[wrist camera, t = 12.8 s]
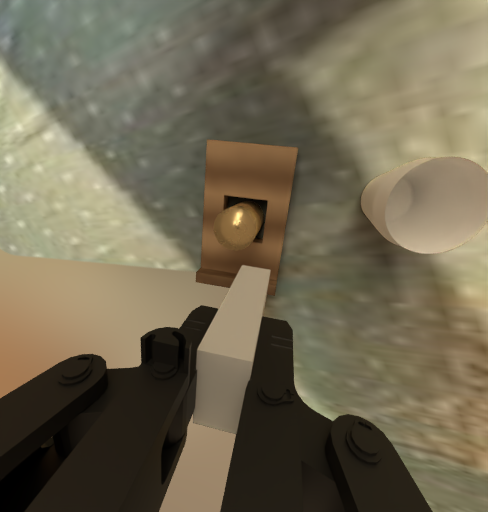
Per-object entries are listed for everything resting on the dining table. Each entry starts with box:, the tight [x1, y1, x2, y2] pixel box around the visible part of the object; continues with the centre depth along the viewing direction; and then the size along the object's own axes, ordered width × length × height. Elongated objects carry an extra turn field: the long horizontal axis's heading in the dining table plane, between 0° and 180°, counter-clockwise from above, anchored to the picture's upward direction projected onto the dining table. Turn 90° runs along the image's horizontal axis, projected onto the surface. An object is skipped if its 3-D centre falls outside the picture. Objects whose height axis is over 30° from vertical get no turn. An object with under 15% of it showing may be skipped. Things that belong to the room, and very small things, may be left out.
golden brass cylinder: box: [214, 201, 264, 250], centre depth 32 cm, size 5×5×10 cm
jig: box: [196, 140, 298, 296], centre depth 35 cm, size 20×12×5 cm, turn 174°
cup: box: [361, 157, 488, 254], centre depth 27 cm, size 9×9×12 cm
